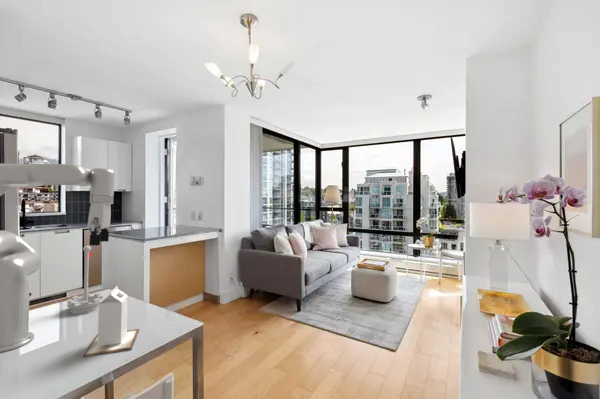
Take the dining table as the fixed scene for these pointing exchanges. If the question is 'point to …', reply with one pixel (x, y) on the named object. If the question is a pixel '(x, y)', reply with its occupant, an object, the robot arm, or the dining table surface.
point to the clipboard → (106, 349)
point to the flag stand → (85, 293)
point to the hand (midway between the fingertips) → (99, 243)
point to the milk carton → (113, 318)
